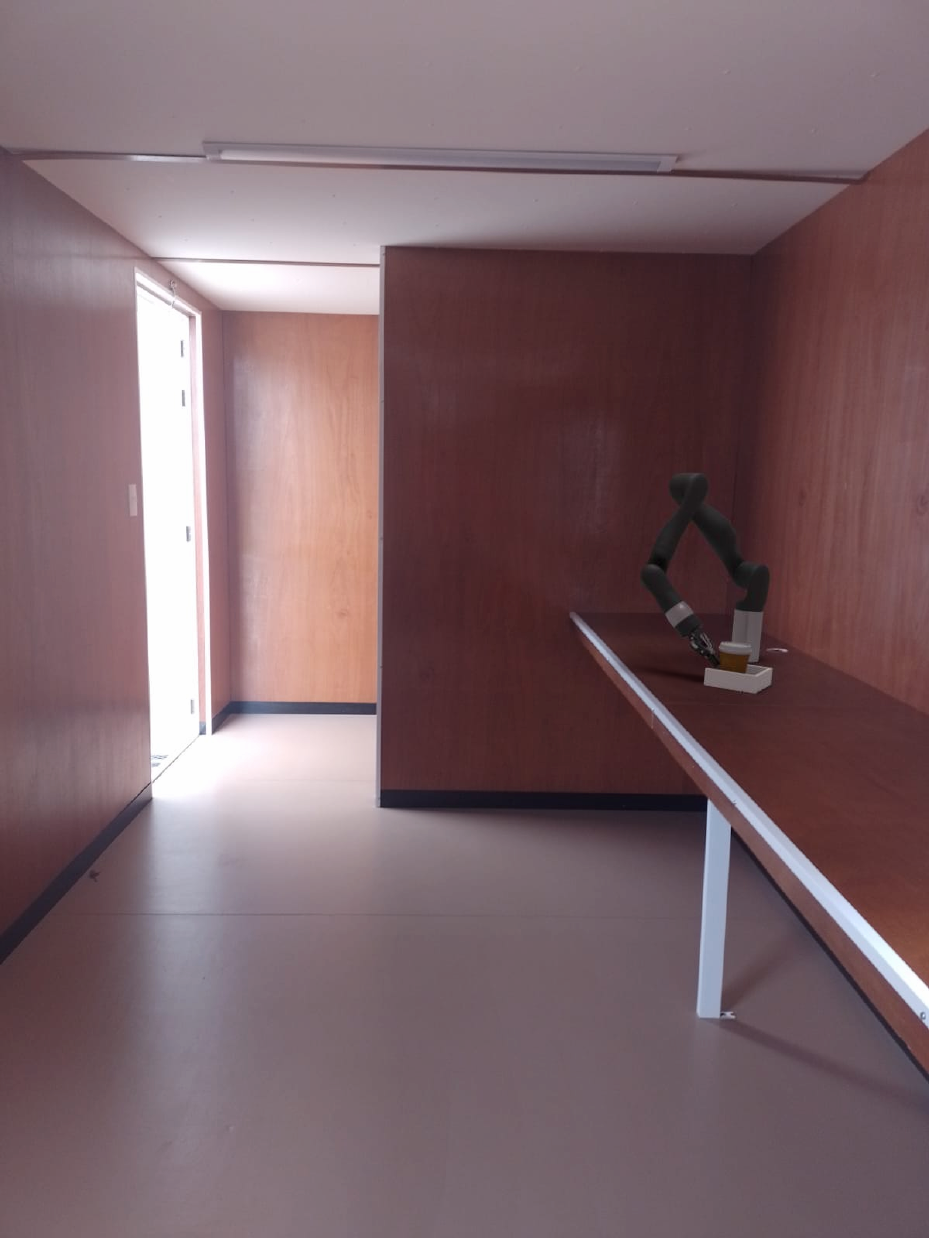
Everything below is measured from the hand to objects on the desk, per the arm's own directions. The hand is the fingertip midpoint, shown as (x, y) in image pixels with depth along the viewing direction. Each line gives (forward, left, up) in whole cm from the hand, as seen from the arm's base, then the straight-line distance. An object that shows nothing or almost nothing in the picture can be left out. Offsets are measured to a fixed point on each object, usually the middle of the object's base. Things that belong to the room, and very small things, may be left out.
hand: (718, 665), depth 267 cm
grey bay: (0, +6, -5) cm, 8 cm away
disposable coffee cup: (0, +4, -5) cm, 7 cm away
